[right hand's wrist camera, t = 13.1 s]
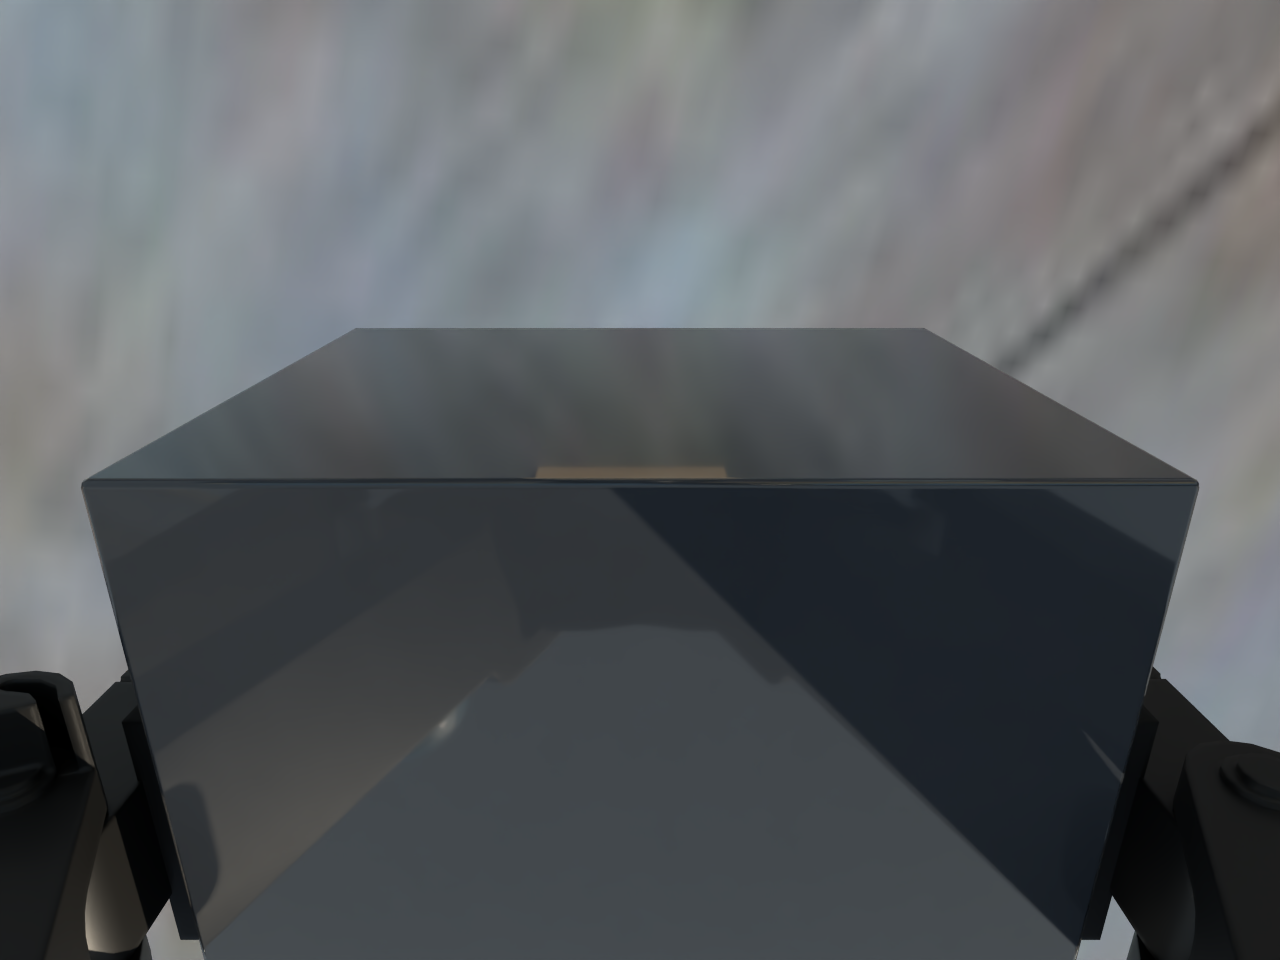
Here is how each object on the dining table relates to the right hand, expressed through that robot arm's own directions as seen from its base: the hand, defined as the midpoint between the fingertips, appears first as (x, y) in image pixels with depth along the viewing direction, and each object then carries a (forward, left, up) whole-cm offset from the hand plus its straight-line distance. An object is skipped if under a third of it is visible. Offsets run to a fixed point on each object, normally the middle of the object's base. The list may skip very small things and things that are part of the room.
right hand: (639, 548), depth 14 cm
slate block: (0, 0, +1) cm, 1 cm away
